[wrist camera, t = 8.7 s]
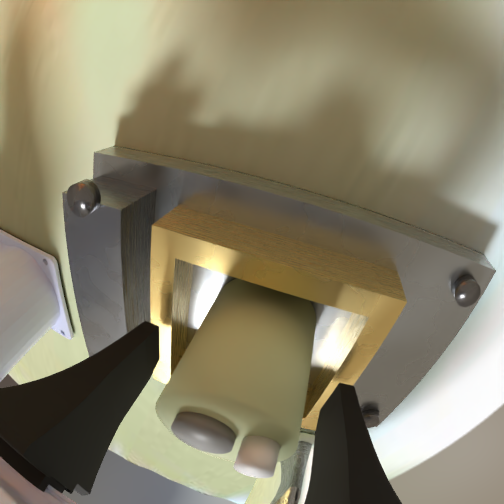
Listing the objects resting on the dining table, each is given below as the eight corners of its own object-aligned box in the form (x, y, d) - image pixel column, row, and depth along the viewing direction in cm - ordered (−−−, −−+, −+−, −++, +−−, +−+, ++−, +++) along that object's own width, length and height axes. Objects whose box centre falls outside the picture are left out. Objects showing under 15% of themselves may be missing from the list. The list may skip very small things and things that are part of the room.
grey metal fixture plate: (119, 327, 19) (82, 373, 15) (114, 146, 13) (42, 170, 9) (376, 408, 17) (376, 468, 13) (483, 254, 11) (526, 315, 7)
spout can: (213, 341, 15) (154, 459, 9) (217, 263, 13) (128, 397, 7) (303, 363, 14) (276, 495, 8) (327, 288, 12) (310, 450, 6)
